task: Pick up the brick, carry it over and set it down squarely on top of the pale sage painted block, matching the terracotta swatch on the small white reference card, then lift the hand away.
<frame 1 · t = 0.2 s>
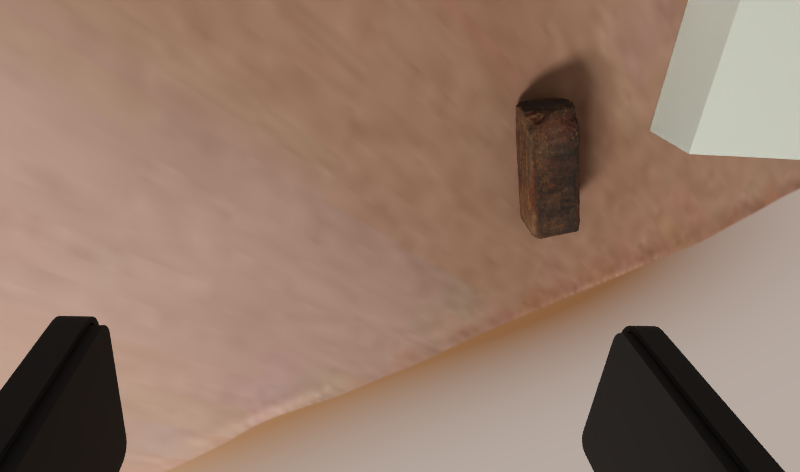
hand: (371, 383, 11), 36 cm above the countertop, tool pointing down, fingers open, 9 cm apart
sage block: (754, 51, 46), on the countertop
brick: (537, 157, 49), on the countertop
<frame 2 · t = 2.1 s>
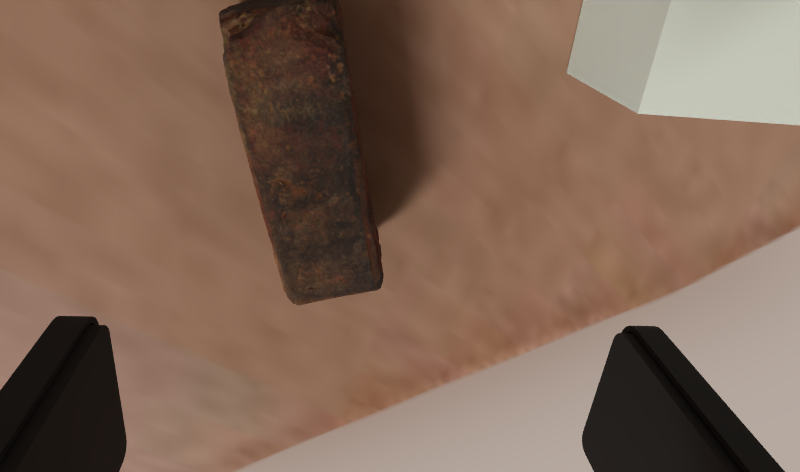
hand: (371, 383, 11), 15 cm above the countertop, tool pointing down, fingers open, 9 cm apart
brick: (311, 131, 23), on the countertop
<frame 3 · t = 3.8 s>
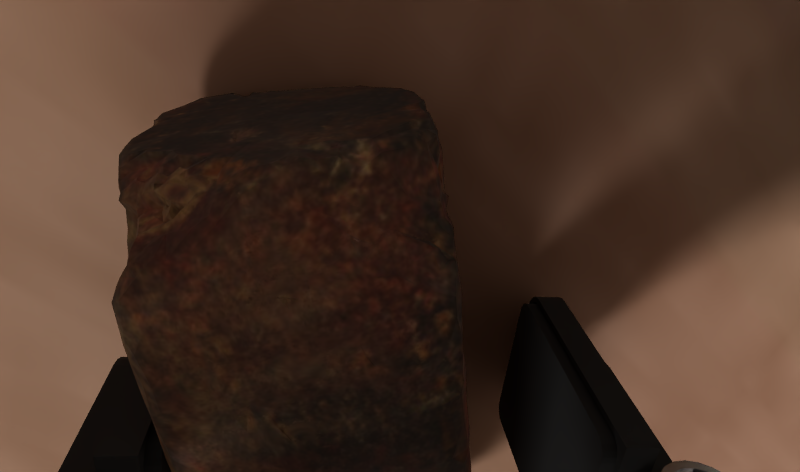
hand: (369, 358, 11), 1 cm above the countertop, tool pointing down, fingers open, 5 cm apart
brick: (336, 331, 12), on the countertop
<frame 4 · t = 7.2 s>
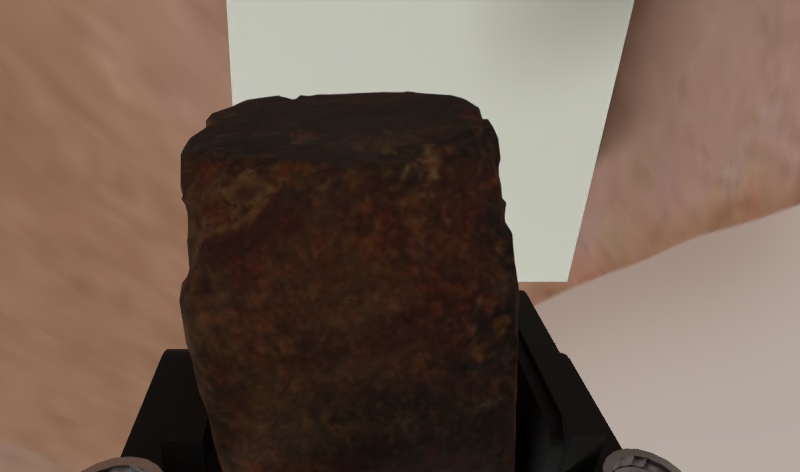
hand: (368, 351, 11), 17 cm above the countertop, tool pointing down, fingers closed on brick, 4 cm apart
sage block: (407, 85, 26), on the countertop
brick: (364, 333, 12), point 17 cm above the countertop, touching gripper
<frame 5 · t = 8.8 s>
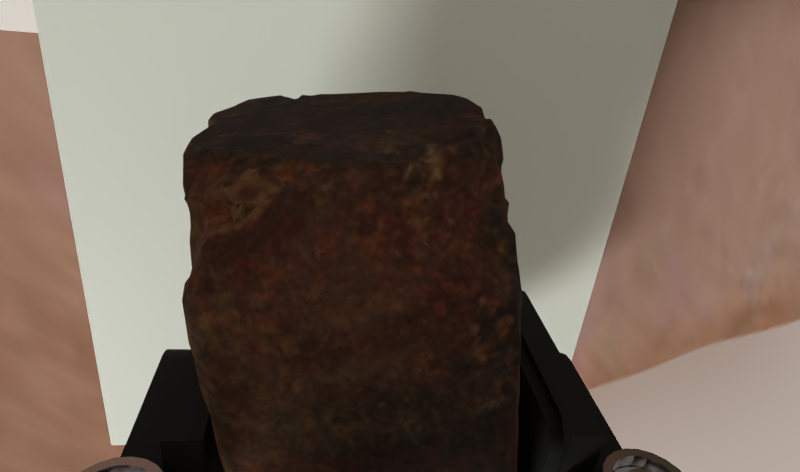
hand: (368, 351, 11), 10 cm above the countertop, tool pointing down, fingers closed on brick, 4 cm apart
sage block: (348, 171, 20), on the countertop
brick: (365, 333, 12), point 10 cm above the countertop, touching gripper
when the fingers open (8 cm above the countertop, at t = 10.0 s): brick drops 1 cm, resting on sage block.
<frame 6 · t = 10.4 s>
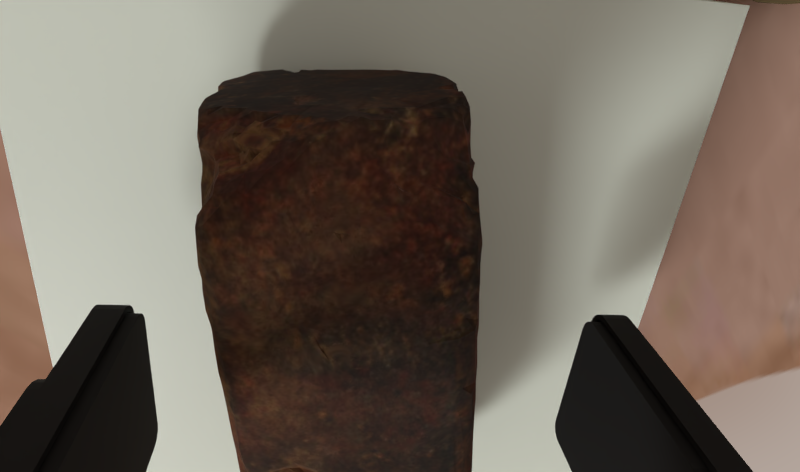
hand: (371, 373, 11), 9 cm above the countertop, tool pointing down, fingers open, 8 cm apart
sage block: (354, 198, 18), on the countertop
brick: (349, 295, 13), point 6 cm above the countertop, touching sage block
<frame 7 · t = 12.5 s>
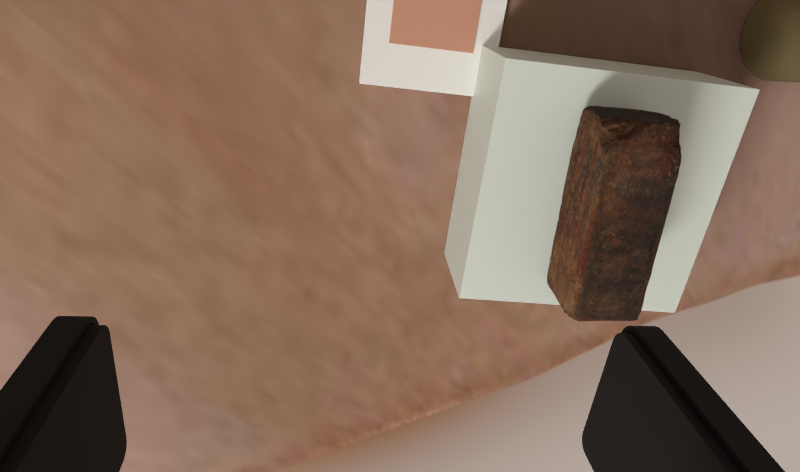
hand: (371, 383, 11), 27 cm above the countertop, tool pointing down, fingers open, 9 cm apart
reference card: (434, 20, 33), on the countertop
cork: (786, 31, 35), on the countertop
sage block: (564, 167, 38), on the countertop
brick: (590, 197, 32), point 6 cm above the countertop, touching sage block
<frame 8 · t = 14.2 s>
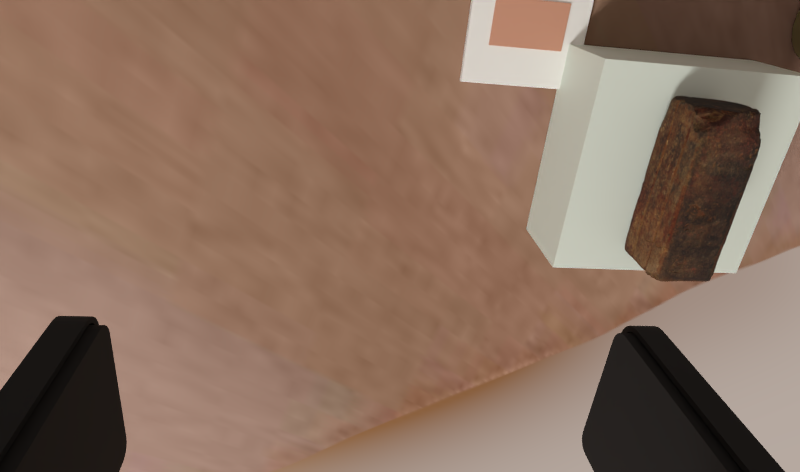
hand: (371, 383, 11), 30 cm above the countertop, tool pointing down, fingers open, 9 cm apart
reference card: (527, 23, 37), on the countertop
sage block: (634, 148, 42), on the countertop
brick: (667, 175, 37), point 6 cm above the countertop, touching sage block
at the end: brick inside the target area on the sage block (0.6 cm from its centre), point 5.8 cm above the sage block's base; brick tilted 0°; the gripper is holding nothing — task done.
